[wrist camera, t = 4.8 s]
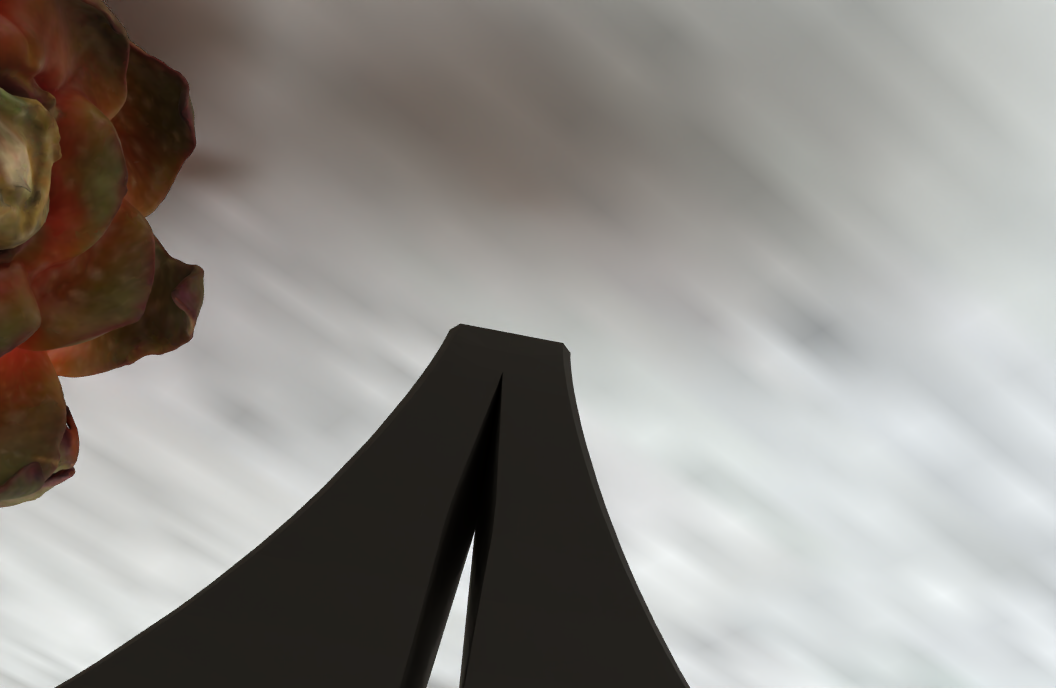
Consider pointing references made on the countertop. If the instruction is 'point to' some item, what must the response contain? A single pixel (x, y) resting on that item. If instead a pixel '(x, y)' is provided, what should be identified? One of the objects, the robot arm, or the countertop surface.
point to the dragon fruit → (81, 222)
